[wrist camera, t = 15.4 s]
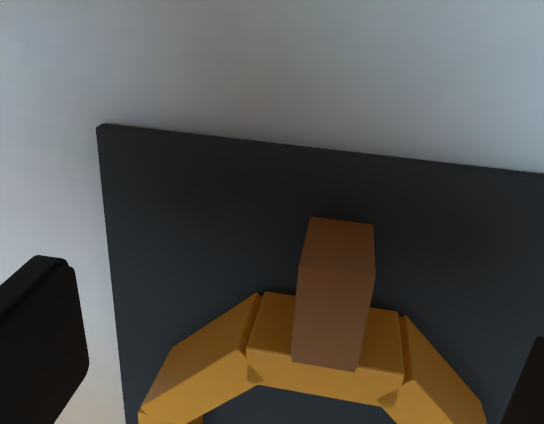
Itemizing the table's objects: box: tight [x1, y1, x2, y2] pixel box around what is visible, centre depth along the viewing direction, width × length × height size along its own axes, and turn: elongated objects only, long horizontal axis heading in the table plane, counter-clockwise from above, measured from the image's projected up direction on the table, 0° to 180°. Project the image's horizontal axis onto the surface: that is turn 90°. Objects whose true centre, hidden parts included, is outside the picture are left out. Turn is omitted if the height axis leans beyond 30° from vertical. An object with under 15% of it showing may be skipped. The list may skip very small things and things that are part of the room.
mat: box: [96, 124, 544, 424], centre depth 19 cm, size 22×16×1 cm
